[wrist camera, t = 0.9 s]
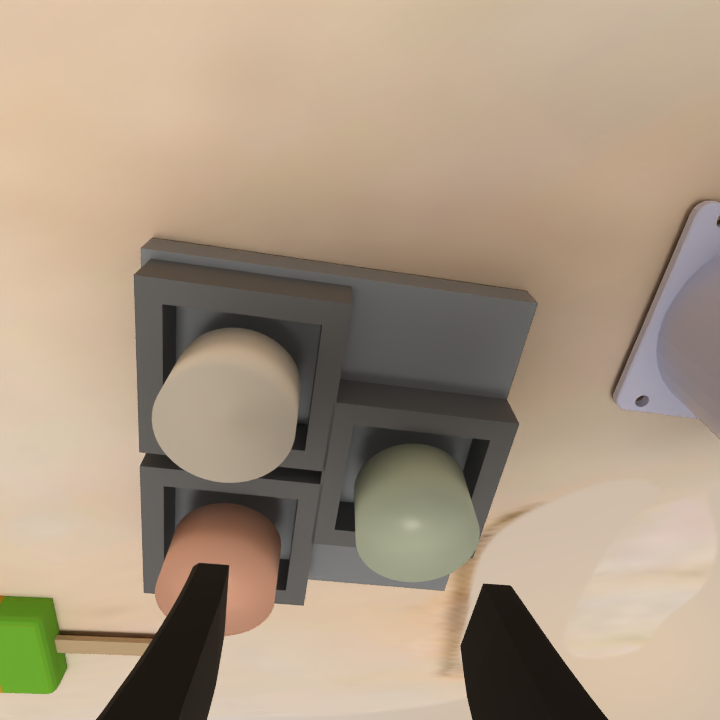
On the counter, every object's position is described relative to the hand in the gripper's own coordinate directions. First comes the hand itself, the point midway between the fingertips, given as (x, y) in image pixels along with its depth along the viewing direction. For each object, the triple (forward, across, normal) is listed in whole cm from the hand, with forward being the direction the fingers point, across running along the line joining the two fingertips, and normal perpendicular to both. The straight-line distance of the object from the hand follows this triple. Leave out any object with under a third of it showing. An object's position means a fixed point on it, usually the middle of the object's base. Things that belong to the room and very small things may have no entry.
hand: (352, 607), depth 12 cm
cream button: (+8, +4, -1) cm, 8 cm away
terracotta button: (+8, +4, +6) cm, 11 cm away
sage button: (+8, -3, +3) cm, 9 cm away
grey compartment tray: (+10, 0, +3) cm, 11 cm away
